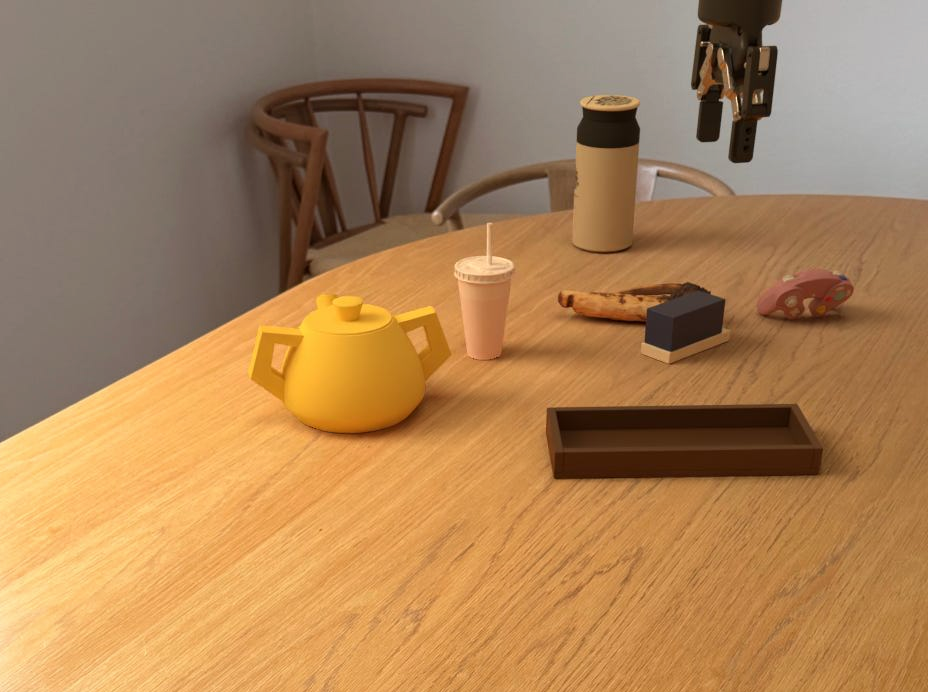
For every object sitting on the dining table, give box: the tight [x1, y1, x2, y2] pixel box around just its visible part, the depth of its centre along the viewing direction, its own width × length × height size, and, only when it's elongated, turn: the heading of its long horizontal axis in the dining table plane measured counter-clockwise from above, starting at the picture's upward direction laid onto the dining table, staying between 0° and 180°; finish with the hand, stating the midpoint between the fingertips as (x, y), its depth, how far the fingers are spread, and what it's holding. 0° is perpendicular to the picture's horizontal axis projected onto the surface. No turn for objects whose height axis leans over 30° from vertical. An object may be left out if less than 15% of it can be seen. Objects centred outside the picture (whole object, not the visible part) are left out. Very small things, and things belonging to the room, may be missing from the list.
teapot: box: [247, 293, 453, 434], centre depth 123 cm, size 20×18×11 cm
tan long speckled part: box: [557, 281, 712, 323], centre depth 144 cm, size 9×5×18 cm
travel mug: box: [571, 94, 641, 254], centre depth 162 cm, size 8×8×18 cm
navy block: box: [640, 291, 731, 365], centre depth 136 cm, size 10×4×5 cm, turn 131°
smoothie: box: [453, 222, 516, 361], centre depth 132 cm, size 6×6×14 cm
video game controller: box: [756, 268, 855, 321], centre depth 143 cm, size 10×5×7 cm, turn 104°
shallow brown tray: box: [545, 403, 824, 479], centre depth 115 cm, size 24×10×3 cm, turn 91°
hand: (723, 151), depth 123 cm, fingers open, 8 cm apart
